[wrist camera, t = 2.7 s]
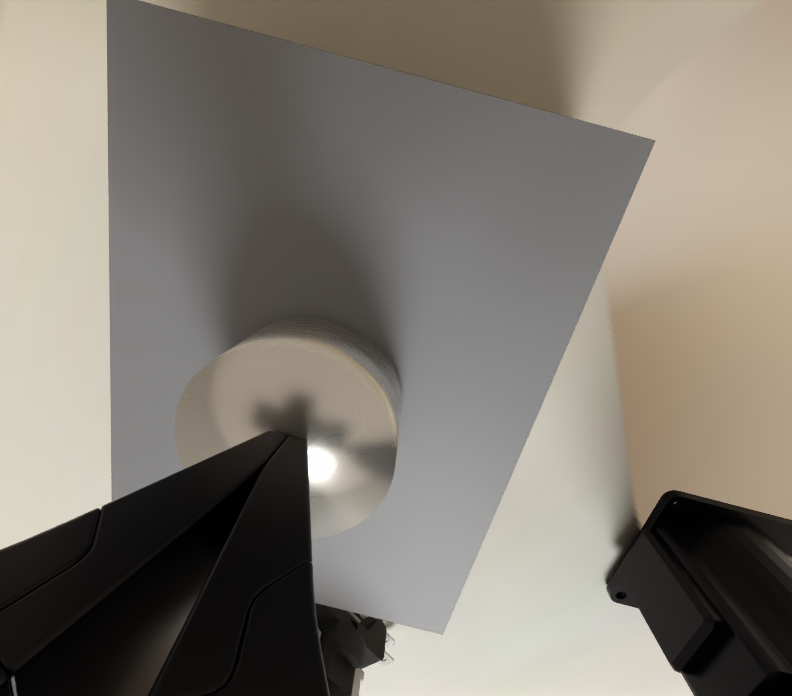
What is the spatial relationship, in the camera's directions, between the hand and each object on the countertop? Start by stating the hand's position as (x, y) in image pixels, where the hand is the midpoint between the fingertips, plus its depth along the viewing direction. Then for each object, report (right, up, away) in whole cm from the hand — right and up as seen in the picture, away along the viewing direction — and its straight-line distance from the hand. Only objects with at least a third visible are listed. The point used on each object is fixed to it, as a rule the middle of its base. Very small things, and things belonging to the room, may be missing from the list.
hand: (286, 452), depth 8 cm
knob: (0, +2, +7) cm, 8 cm away
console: (0, +2, +7) cm, 8 cm away
